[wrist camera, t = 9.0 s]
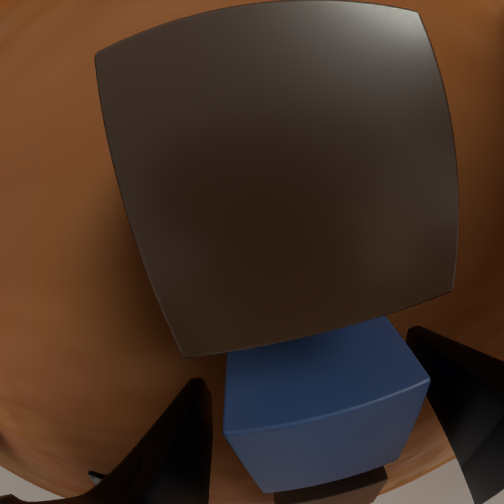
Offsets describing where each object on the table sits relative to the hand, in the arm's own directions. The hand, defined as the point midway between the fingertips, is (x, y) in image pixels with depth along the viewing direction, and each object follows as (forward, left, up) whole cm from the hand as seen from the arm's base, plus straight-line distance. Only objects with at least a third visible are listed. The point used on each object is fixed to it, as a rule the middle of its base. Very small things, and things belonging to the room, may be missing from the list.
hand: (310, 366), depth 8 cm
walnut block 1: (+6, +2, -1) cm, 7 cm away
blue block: (0, 0, -1) cm, 1 cm away
